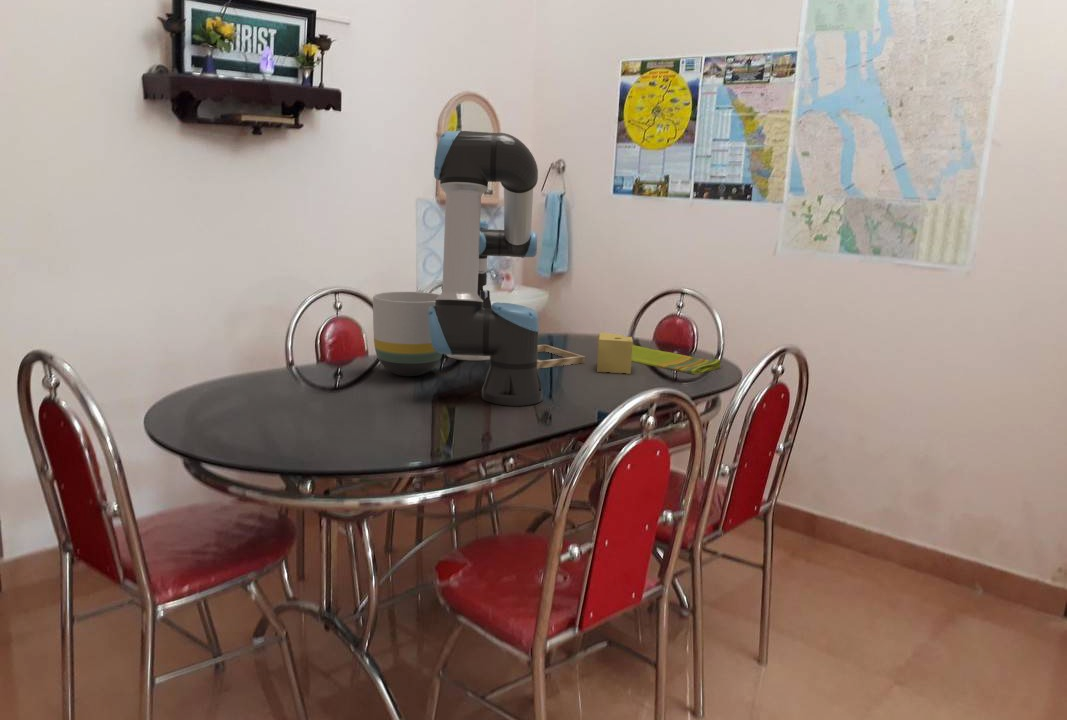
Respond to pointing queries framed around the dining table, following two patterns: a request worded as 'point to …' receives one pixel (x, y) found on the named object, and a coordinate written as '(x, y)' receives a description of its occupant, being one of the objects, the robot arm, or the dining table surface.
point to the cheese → (614, 353)
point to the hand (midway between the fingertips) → (472, 341)
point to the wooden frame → (567, 360)
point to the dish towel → (673, 361)
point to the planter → (404, 332)
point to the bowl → (469, 357)
